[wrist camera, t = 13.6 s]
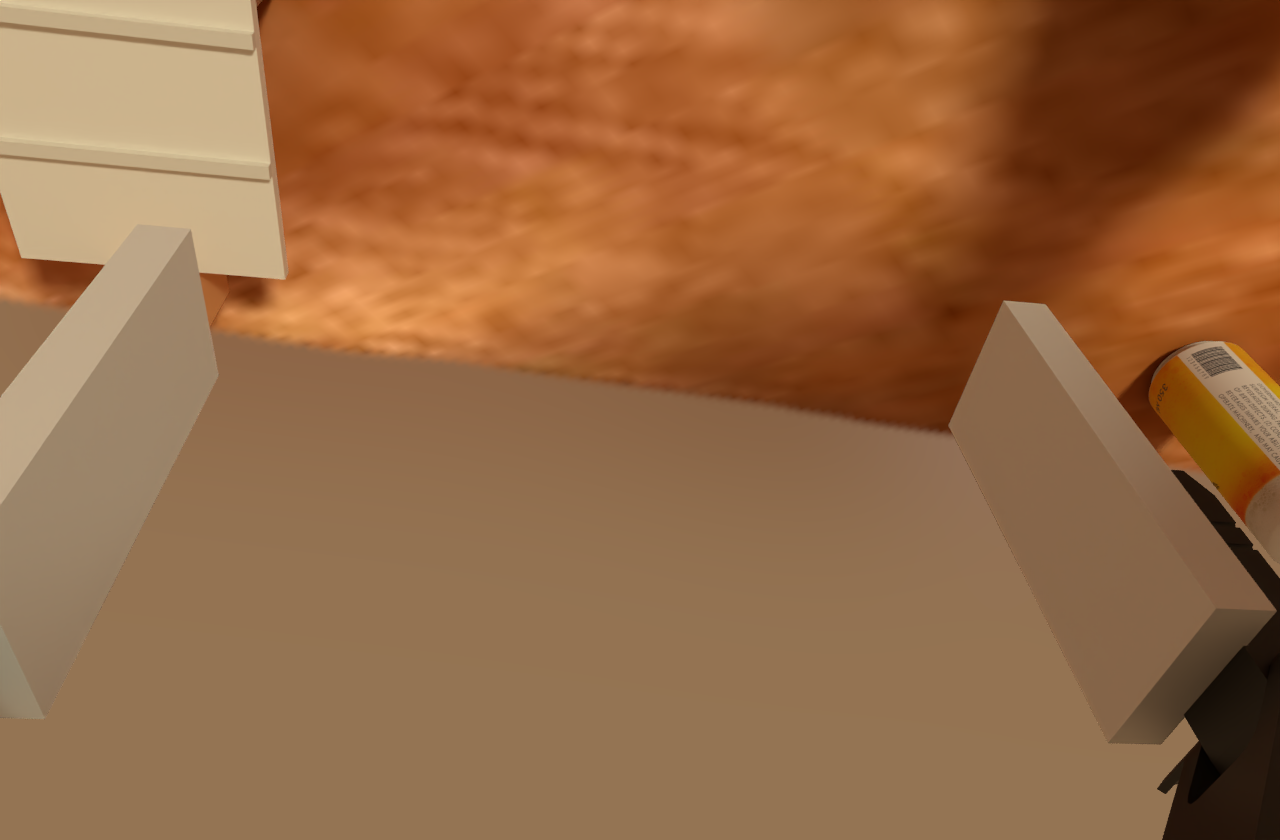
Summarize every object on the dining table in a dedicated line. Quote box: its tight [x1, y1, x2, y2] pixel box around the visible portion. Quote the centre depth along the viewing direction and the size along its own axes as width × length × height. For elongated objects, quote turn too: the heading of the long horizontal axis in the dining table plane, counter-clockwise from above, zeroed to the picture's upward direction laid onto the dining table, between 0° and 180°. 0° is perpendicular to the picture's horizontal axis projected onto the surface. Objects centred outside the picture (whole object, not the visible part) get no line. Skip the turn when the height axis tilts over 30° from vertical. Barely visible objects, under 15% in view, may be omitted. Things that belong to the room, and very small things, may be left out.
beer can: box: [1149, 341, 1280, 564], centre depth 53 cm, size 6×6×15 cm
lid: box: [0, 0, 288, 327], centre depth 39 cm, size 20×12×8 cm, turn 172°
